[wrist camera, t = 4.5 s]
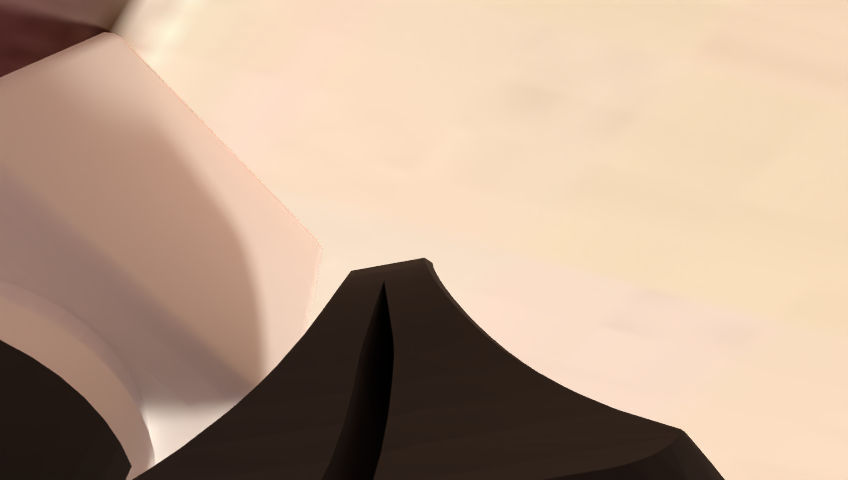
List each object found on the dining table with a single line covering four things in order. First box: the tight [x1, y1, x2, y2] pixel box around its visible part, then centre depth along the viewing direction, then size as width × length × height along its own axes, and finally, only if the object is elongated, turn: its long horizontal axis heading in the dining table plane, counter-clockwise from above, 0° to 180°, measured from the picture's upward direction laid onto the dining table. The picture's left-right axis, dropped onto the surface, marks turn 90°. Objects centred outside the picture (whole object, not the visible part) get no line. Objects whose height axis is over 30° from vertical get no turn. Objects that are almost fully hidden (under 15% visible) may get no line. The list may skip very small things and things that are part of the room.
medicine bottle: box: [0, 32, 322, 480], centre depth 12 cm, size 7×7×12 cm
